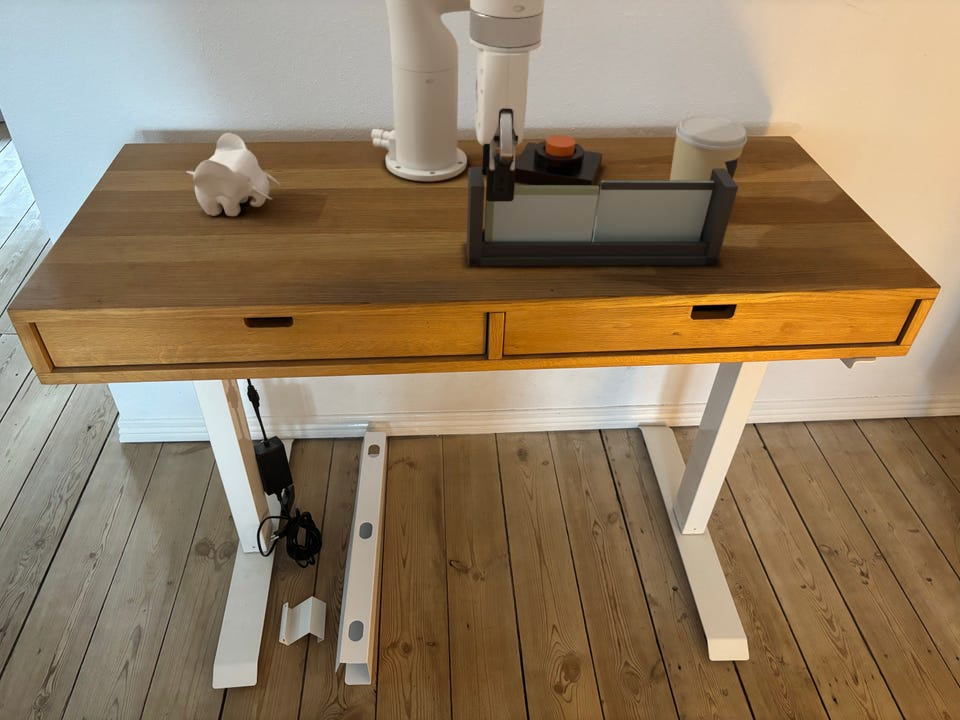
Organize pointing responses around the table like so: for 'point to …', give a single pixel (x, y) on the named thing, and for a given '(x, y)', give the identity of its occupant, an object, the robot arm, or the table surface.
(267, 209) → the table surface
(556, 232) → the sliding pane
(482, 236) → the window frame
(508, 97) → the robot arm
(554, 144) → the button
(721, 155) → the coffee cup
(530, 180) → the switch box
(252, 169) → the elephant figurine
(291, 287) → the table surface
